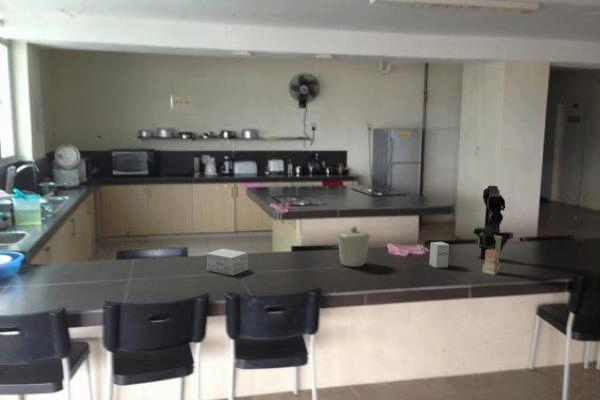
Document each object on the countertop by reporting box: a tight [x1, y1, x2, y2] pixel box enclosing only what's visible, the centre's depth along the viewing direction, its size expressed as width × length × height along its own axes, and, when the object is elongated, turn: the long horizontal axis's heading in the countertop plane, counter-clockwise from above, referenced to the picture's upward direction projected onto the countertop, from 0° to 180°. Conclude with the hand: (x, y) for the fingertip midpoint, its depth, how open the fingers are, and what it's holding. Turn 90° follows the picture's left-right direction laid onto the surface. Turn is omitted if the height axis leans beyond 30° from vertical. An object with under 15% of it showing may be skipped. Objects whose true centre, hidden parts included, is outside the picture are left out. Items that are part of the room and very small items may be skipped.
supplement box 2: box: [206, 248, 249, 276], centre depth 265 cm, size 17×13×9 cm
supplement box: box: [428, 241, 450, 269], centre depth 279 cm, size 7×7×13 cm
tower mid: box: [484, 257, 500, 267], centre depth 268 cm, size 5×5×4 cm
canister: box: [336, 225, 371, 268], centre depth 278 cm, size 18×18×21 cm
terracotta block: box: [485, 248, 500, 259], centre depth 268 cm, size 5×5×4 cm
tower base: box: [482, 263, 500, 275], centre depth 269 cm, size 6×6×4 cm
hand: (492, 249), depth 267 cm, fingers open, 9 cm apart
